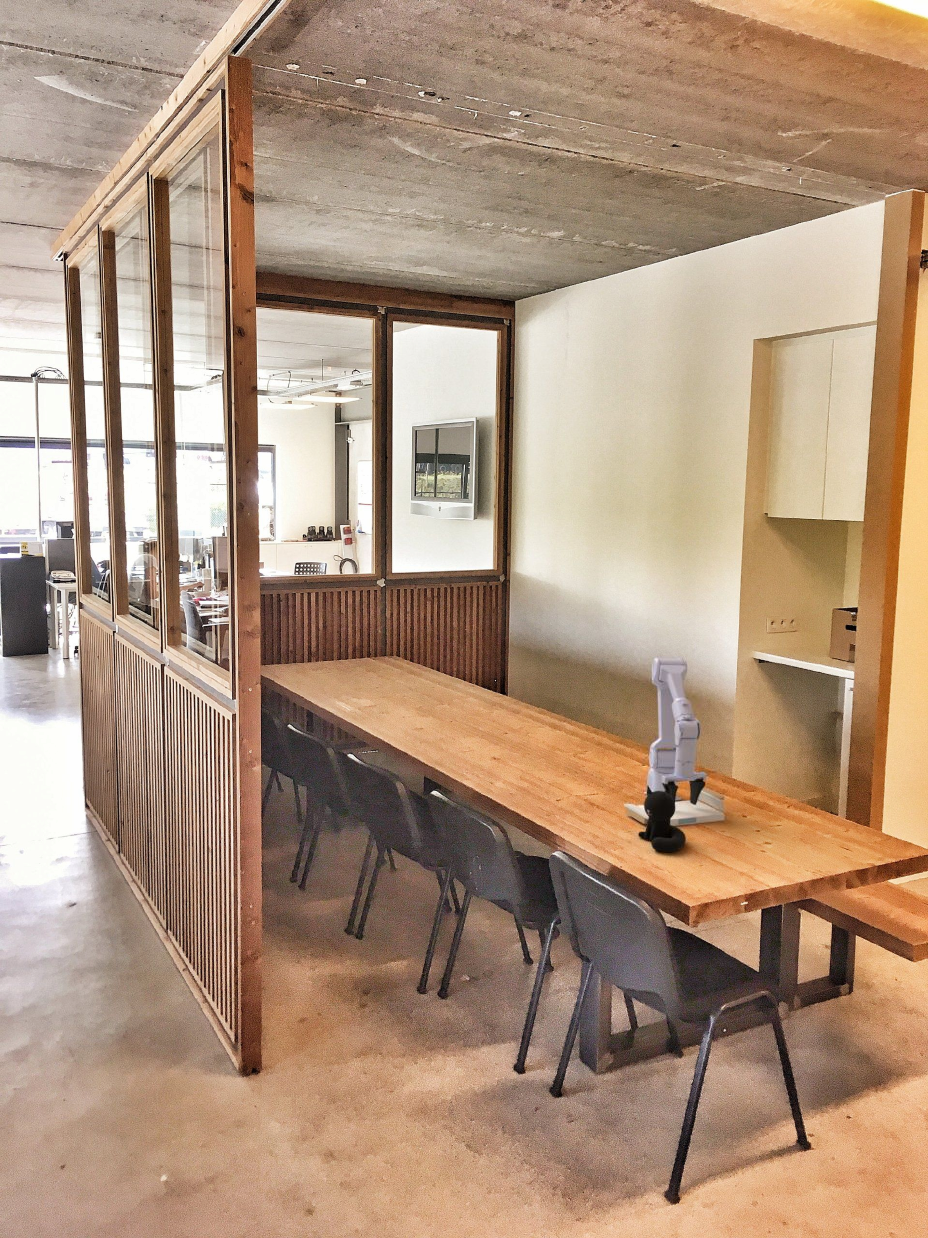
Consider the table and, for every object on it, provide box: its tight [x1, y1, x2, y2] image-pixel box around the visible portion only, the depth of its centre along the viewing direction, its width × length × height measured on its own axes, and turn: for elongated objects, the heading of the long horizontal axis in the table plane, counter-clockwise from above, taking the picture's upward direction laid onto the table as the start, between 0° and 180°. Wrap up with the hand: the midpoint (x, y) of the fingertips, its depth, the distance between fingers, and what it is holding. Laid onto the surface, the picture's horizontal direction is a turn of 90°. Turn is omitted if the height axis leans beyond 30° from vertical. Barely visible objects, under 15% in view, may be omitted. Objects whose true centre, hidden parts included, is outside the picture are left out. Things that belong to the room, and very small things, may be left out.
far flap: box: [698, 786, 726, 813], centre depth 304 cm, size 13×4×2 cm
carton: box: [637, 799, 725, 827], centre depth 300 cm, size 14×22×2 cm, turn 112°
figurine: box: [637, 784, 687, 853], centre depth 276 cm, size 16×14×15 cm
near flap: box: [623, 803, 649, 825], centre depth 295 cm, size 13×4×2 cm, turn 22°
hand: (682, 805), depth 300 cm, fingers open, 7 cm apart
